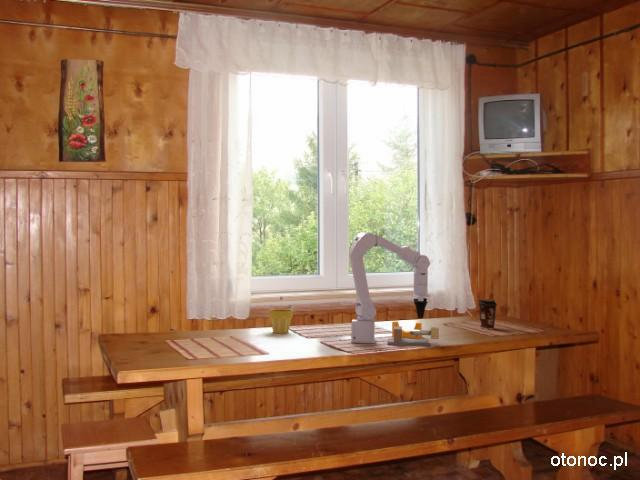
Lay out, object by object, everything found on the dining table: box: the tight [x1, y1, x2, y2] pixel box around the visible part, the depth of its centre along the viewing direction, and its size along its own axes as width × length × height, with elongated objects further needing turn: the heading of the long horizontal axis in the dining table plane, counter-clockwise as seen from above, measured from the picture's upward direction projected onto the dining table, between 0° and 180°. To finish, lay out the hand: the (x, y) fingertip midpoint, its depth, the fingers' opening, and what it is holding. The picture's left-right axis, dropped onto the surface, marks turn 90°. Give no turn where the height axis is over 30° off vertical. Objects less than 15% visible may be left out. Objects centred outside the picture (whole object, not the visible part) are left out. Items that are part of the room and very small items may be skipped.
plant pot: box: [268, 308, 294, 334], centre depth 298 cm, size 10×10×10 cm
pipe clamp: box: [391, 320, 423, 339], centre depth 288 cm, size 12×4×6 cm, turn 70°
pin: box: [409, 326, 440, 340], centre depth 271 cm, size 11×3×4 cm, turn 83°
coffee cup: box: [478, 298, 498, 330], centre depth 313 cm, size 9×8×13 cm
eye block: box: [386, 325, 430, 347], centre depth 272 cm, size 16×8×6 cm, turn 83°
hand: (420, 316), depth 281 cm, fingers open, 7 cm apart
